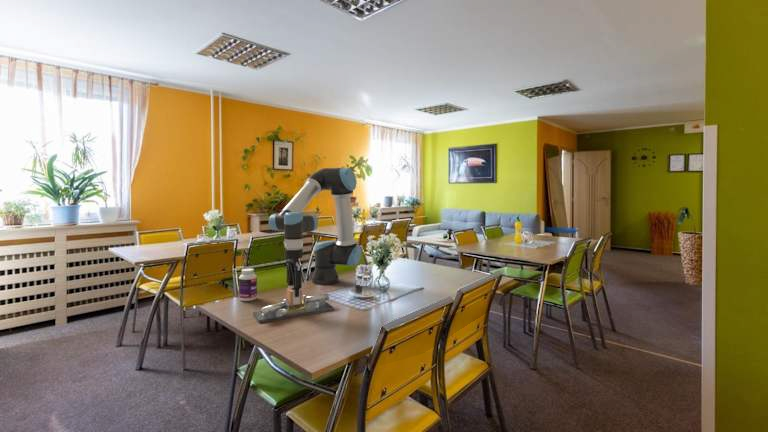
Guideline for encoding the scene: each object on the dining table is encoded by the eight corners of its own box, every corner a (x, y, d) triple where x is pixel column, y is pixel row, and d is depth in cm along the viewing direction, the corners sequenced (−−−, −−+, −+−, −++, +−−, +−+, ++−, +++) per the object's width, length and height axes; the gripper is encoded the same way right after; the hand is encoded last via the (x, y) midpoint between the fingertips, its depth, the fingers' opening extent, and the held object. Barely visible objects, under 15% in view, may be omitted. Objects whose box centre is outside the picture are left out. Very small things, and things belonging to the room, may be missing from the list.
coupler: (286, 302, 159) (286, 288, 159) (297, 300, 162) (297, 287, 161) (290, 305, 155) (290, 291, 154) (301, 303, 157) (301, 289, 157)
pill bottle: (253, 302, 172) (252, 271, 171) (236, 301, 172) (235, 271, 171) (259, 296, 180) (259, 267, 179) (243, 296, 180) (242, 267, 179)
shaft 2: (305, 309, 159) (305, 296, 158) (301, 306, 163) (301, 293, 162) (329, 305, 165) (329, 292, 164) (325, 302, 169) (325, 290, 168)
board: (324, 303, 172) (324, 294, 171) (333, 309, 162) (333, 300, 162) (252, 315, 155) (252, 305, 155) (259, 323, 146) (258, 312, 145)
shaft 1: (282, 310, 157) (282, 297, 156) (289, 313, 154) (289, 300, 153) (259, 318, 148) (258, 304, 147) (266, 320, 145) (265, 306, 144)
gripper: (278, 246, 162) (279, 298, 164) (291, 252, 147) (292, 309, 149) (295, 245, 166) (295, 295, 168) (309, 251, 151) (309, 306, 153)
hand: (294, 302), depth 158 cm, fingers closed on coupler, 5 cm apart
